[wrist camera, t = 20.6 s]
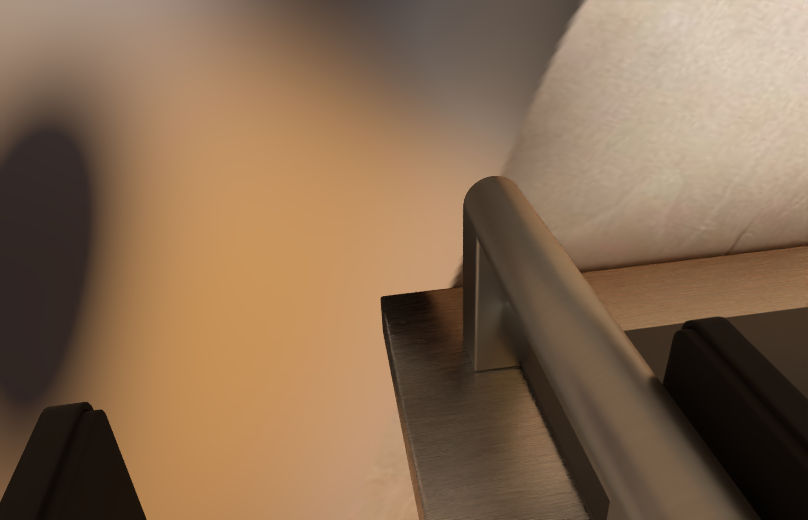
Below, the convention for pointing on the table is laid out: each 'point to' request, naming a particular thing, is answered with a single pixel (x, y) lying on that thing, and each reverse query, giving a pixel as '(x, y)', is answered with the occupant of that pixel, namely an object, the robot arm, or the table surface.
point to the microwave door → (572, 374)
